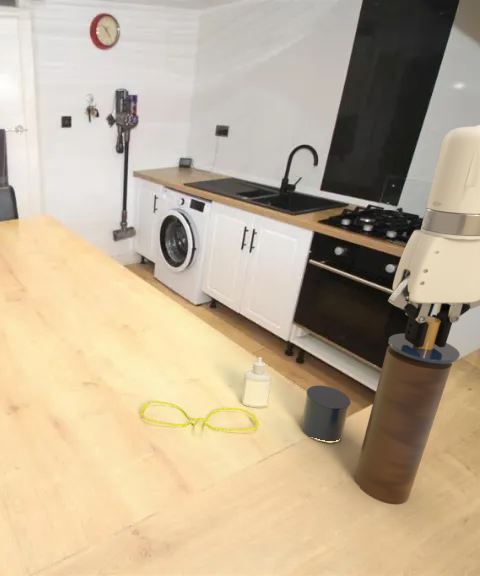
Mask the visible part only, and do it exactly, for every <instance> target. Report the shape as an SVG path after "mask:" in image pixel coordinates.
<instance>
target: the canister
mask: <svg viewBox="0 0 480 576" xmlns="http://www.w3.org/2000/svg"><path fill="white" fill-rule="evenodd" d="M305 395H306V396H305V402H304V405H303V411H302V418H301V423H300V429H301V431H302V432H303V433H304V435H306V436H307V437H308V438H310V437H313V438H317V439H320V440H325V441H336V440H339V439H341V438H342V439H343V436H344V435H343V434H344V431H345V426H346V422H347V417H348V414H349V409H350V407H351V399H350V397H349V396H348V395H347V394H346V393H344V392H343V391H341V390H339V389H338V388H335V387H331V386H326V385H313V386H310V387H308V388H307V389H306V393H305ZM342 439H341V440H342Z"/></svg>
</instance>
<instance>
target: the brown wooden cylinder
mask: <svg viewBox="0 0 480 576" xmlns="http://www.w3.org/2000/svg"><path fill="white" fill-rule="evenodd" d="M452 366H453V363H446V364H439V363H430V362H424V361H420V360H416V359H413V358H410V357H407V356H405V355H403V354H400V353H399V352H397V351H395V350H394V349H393V348H391V347H390V345H388V346H387V347H386V352H385V355H384V360H383V363H382V367H381V371H380V375H379V378H378V383H377V385H376V386H377V387H376V390H375V394H374V398H373V402H372V405H371V410H370V414H369V417H368V422H367V425H366V429H365V434H364V436H363V441H362V445H361V449H360V453H359V457H358V461H357V464H356V469H355V472H354V481H355V480H356V481H355V482H357V483H356V485H357V486H358V485H359V486H360V487H359V486H358V487H359V488H360V490H362V491H363V492H364V493H365V492H366V493H365V494H367V495H368V494H369V495H368V496H369V497H371V496H372V497H371V498H373V499H375V500H377V501H380V502H382V503H386V504H390V505H402V504H404V503H406V502H407V501H408V500H409V499H410V495H411V492H412V489H413V486H414V483H415V480H416V477H417V473H418V470H419V468H420V465H421V462H422V458H423V455H424V452H425V449H426V447H427V444H428V441H429V440H428V439H429V437H430V433H431V430H432V428H433V424H434V421H435V419H436V415H437V412H438V409H439V406H440V403H441V400H442V397H443V394H444V391H445V388H446V385H447V382H448V377H449V375H450V372H451V369H452Z"/></svg>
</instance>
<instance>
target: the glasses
mask: <svg viewBox="0 0 480 576" xmlns="http://www.w3.org/2000/svg"><path fill="white" fill-rule="evenodd" d="M150 404H161V405H167V406H173V407H175V408H177V409H179V410H180V411H181V412H182V413H184V415H185V416H186V418H187V419H188V420H189V419H190V420H193V421H195V422H193V421H188V422H186V423H184V424H179V423H178V424H177V423H170V422H169V423H168V422H162V421H157V420H153V419H150V418H147V417H146V416H145V411H146V408H147V407H148V405H150ZM227 410H230V411H241V412H246V413H248V414H249V415H250V417H251V418H252V419H253V421H254V423H255V426H254V427H252V428H242V429H241V428H240V429H238V428H237V429H236V428H222V427H221V428H220V427H215V426H212V425H210V424H209V423H208V422H206V421H209V420H210V417H211V416H212V415H213V414H215V413H217V412H219V411H227ZM139 413H140V416H142V417H143V419H144V420H146V421H148V422H152V423H156V424H159V425H165V426H170V427H171V426H173V427H186V426H188V425H190V424H191V425H192V426H193V427H195V426H196V425H197V424H198V422H199V421H201V422H202V421H203V423H202V424H201V426H202V427H206V426H207V427H209V428H210V429H212V430H218V431H224V432H225V431H226V432H249V431H250V432H251V431H254V430H256V429H257V428H258V427H259V426H260V422H259V420H258V417H257V416H256V415H255V414H254V413H253V412H250V411H249V410H247V409H244V408H238V407H236V408H235V407H222V408H217V409H214V410H213V411H211V412H210V413H209V414H208V416H207V418H203V417H201V416H200V417H198V418H195V417H191V416H189V414H188V413H187V412H186V411H185V410H184V409H183V408H182V407H181V406H179V405H176V404H174V403H171V402H164V401H155V400H153V401H152V400H151V401H148V402H147V403H144V404H143V405H142V407H141V410H140V412H139Z"/></svg>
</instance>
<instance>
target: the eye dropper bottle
mask: <svg viewBox="0 0 480 576" xmlns="http://www.w3.org/2000/svg"><path fill="white" fill-rule="evenodd" d="M265 370H266V363H265V362H264V361H263V358H262V356H258V358H257V360H254V361H253V364H252V369H251V370H248V371H245V372H244V374H243V381H242V388H241V389H242V390H241V396H240V397H241V399H240V400H241V403H242V405H244V406H247V407H250V408H255V409H256V408H257V409H261V408H267V407H268V404H269V399H270V392H271V385H272V377H271V375H270V374H269V372H267V371H265Z"/></svg>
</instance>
